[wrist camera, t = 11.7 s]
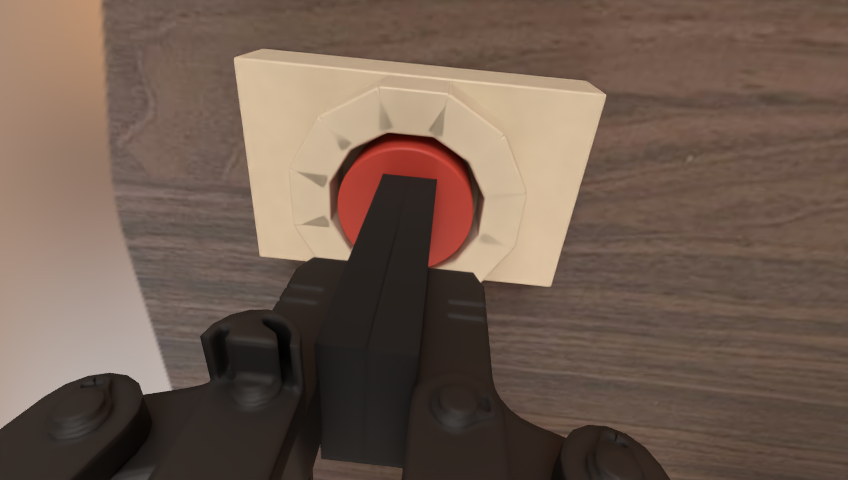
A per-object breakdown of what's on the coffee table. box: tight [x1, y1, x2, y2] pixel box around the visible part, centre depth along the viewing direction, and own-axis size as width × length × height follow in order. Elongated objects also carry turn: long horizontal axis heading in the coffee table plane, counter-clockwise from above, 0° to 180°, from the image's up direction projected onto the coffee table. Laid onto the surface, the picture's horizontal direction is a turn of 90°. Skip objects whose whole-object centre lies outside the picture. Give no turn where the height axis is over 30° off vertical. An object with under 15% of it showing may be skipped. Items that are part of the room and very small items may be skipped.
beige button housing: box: [234, 49, 606, 287], centre depth 14 cm, size 11×7×4 cm, turn 85°
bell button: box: [337, 133, 473, 267], centre depth 13 cm, size 4×4×2 cm
